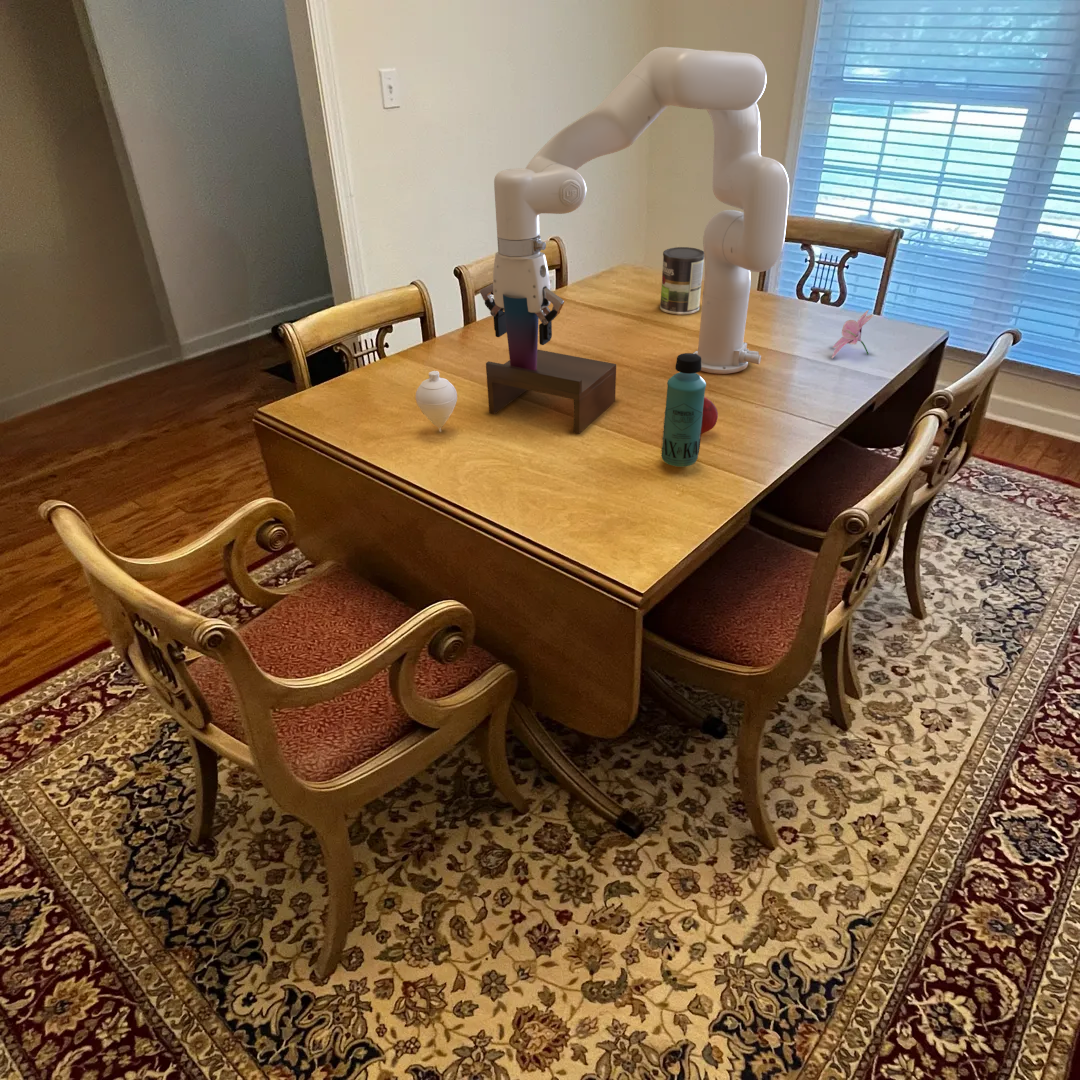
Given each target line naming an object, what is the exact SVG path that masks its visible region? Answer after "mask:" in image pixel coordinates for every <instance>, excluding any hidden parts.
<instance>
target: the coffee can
mask: <svg viewBox="0 0 1080 1080" xmlns="http://www.w3.org/2000/svg"><path fill="white" fill-rule="evenodd" d="M662 257H663V258H662V273H661V275H662V276H661V289H660V303H659V309H660V310H661V311H662V312H663V313H667V314H671V315H681V316H684V315H691V314H695V313H698V312H699V311H700V305H701V304H700V303H701V294H702V293H701V292H702V284H703V283H702V281H703V273H704V264H705V259H704V250H702V249H700V248H697V247H696V248H695V247H689V246H678V247H677V246H675V247H671V248H667V249H665V250H664V251H663V252H662Z"/></svg>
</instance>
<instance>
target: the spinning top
mask: <svg viewBox="0 0 1080 1080" xmlns="http://www.w3.org/2000/svg"><path fill="white" fill-rule="evenodd" d="M428 377H429V378H426V379H424V380H422V381H421V383H420V385H418V387H417V389H416V392H415V402H416V405H417V406H418V409H419V410H420V411H421V413H422V414H423V415H424V416H425V417H426V418H427V419H428V421H430V422H431V424H432V425H434V426H435V427H436V428H438V432H439V433H442V428H443V427H444V426H445V424H446V423H447V421H448V420H449V419H450V417H451V415H452V414H453V412H454V410H455V408H456V405H457V402H458V392H457V389H456V388H455V386H454V384H452V383H451V382H450V380H448V379H446V378H444V377H440V372H439V371H438V370H431V371H429V372H428Z"/></svg>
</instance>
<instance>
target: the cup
mask: <svg viewBox="0 0 1080 1080" xmlns="http://www.w3.org/2000/svg"><path fill="white" fill-rule="evenodd" d="M503 302H504V310H503V312H505V321H506V330H507V332H506V338H507V339H506V340H507V347H508V348H507V349H508V354H509V360H510V366H515V367H520V368H525V369H530V370H535V371H536V370H537V349H538V347H539V344H538V342H539V320H540V319H539V318H538V316H537V315H536V314H535V313H530V312H528V306H527V298H511V297H507V296H505V295H504V294H503Z"/></svg>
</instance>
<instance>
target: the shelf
mask: <svg viewBox="0 0 1080 1080" xmlns="http://www.w3.org/2000/svg"><path fill="white" fill-rule="evenodd" d="M485 370H486V371H485V372H486V373H485V374H486V385H487V386H486V387H487V401H488V413H489V414H491V415H496V414H497V413H498V412H499V411H501V410H503V408H505V407H506V406H508V405H509V404H511V403H512V402H513V401H514V400H516V399H517V398H519V397H520V396H521V395H523V394H524V393H526V391H532V392H538V393H541V394H546V395H551V396H557V397H562V398H566V399H571V400H573V433H574V434H576V435H577V434H578V435H580V434H581V433H582V432H583V431H584V430H586V428H588V427H589V426H590V425H591V424H592V423H593V422H595V420H596V419H597V418H599V417H600V416H602V414H603V413H604V412H605V411H606V410H607V409H609V408H610V407H611V406H612V405H613V404H614V403H615V402H616V391H617V390H616V386H617V363H613V362H607V361H602V360H598V359H597V360H596V359H591V358H587V357H586V358H585V357H582V356H581V357H580V356H576V355H569V354H565V353H559V352H553V351H548V350H544V349H543V350H542V349H538V348H537V370H536V371H535V370H530V369H525V368H520V367H515V366H510V359H509V360H508V361H506V362H505V363H500V362H494V361H486V362H485Z"/></svg>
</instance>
